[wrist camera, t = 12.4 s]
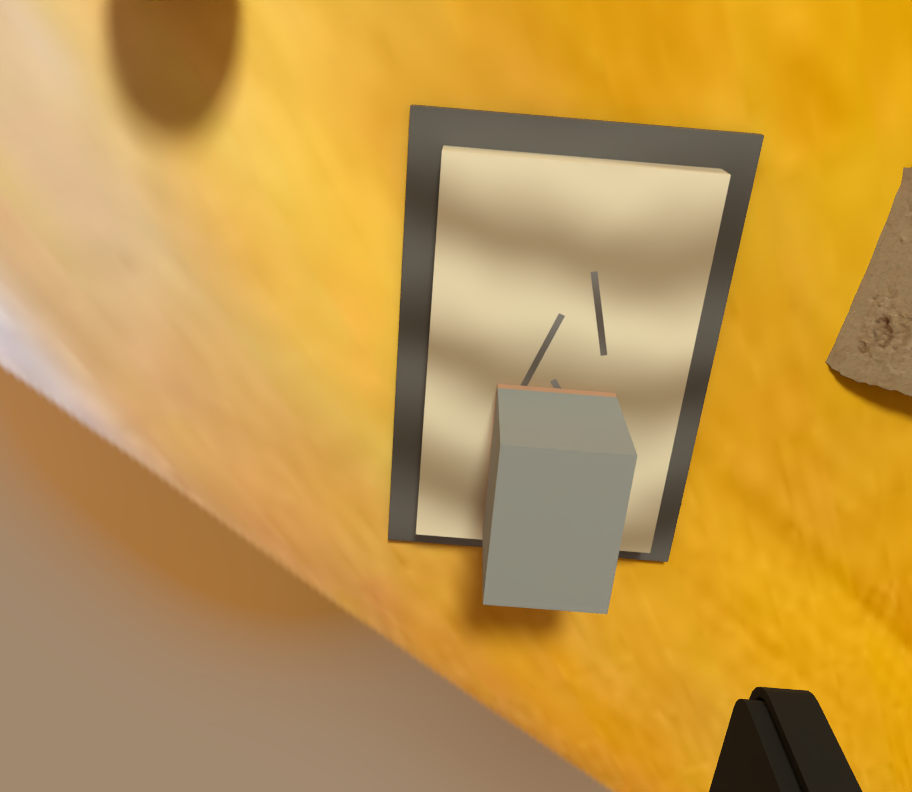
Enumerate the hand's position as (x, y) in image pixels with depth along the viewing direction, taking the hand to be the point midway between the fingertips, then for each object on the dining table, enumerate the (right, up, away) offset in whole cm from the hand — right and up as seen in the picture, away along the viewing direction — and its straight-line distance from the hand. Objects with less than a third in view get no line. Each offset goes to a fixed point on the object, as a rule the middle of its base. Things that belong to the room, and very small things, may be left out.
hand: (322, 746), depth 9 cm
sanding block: (+6, +1, +31) cm, 31 cm away
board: (+6, +6, +30) cm, 32 cm away
